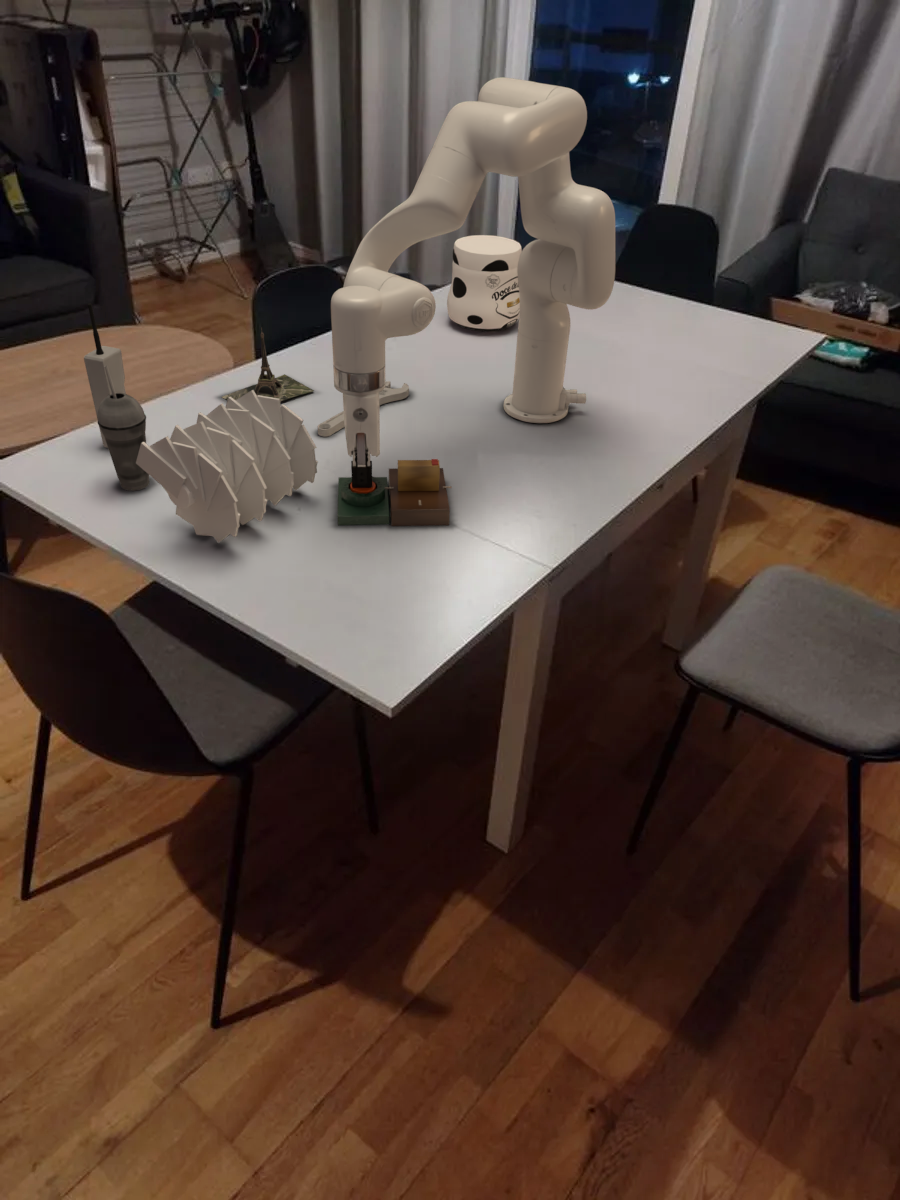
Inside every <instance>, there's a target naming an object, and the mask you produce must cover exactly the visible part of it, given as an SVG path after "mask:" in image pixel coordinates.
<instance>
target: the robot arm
mask: <svg viewBox="0 0 900 1200" xmlns="http://www.w3.org/2000/svg"><path fill="white" fill-rule="evenodd" d="M477 96H478V98H477V100H467V101H461V102H459V103H457V104H455V105H454V106H452V108H450V110H449V111H448V113H447V115H446V117H445V119H444V120H443V122H442V125H441V127H440V129H439V131H438V134H437V136H436V138H435V141H434V142H433V145H432V148H431V150H430V152H429V154H428V156H427V158H426V161H425V162H424V164H423V166H422V169H421V172H420V174H419V176H418V178H417V181H416V183H415V185H414V188H413V190H412V192H411V193H410V195H408V198H406V199H405V200H404V201H402V203H400V204H399V205H397V206H396V207H394V208H393V209H391V210H390V211H389V212H387V213H386V214H385V215H384V216H383V217H381V219H380V220H379V221H378V222H376V223H375V224H374V225H373V226H372V227H371V228H370V229H369V230H368V232H367V233H366V234H365V235H364V236H363V238H362V240H361V241H360V243H359V245H358V247H357V249H356V251H355V254H354V256H353V257H352V260H351V263H350V265H349V267H348V270H347V273H346V275H345V279H344V281H343V287H341V288H338V289H337V290H336V291H334V292H333V294H332V296H331V300H330V319H331V320H330V321H331V343H332V365H333V387H334V389H335V390H336V391H338V392H339V393H342V407H343V408H342V409H343V411H344V425H345V427H344V433H345V442H346V450H347V455H348V456H349V457H350V458H352V460H350V465H351V466H350V467H351V470H350V471H351V477H352V487H353V488H371V487H372V476H373V461H372V460H371V457H375V458H377V457H379V456H380V454H381V448H380V447H381V432H380V431H381V429H380V428H381V424H380V423H381V422H380V421H381V419H380V418H381V416H380V415H381V414H380V410H381V409H380V406H379V392H381V391H382V390H383V389H384V388H385V382H386V341H387V340H388V339H392V338H400V337H408V336H412V335H416V334H418V333H421V332H422V331H424V330H425V329H426V328H427V327H429V325H430V324H431V322H432V321H433V320H434V317H435V315H436V314H435V313H436V307H437V306H436V304H437V303H436V300H435V296H434V294H433V293H432V291H431V290H430V289H429V288H428V287H427V286H425V285H424V284H423V283H421V282H419V281H416V280H412V279H409V278H406V277H403V276H401V275H398V274H394V273H391V272H389V270H390V269H391V267H392V265H393V263H395V261H396V259H397V258H398V257H399V256H400V255H401V254H402V253H404V252H405V251H406V250H407V249H408V248H410V247H412V246H413V245H416V244H417V243H420V242H423V241H426V240H430V239H432V238H435V237H439V236H442V235H446V234H449V233H453V232H456V231H457V230H459V229H461V228H462V226H463V225H464V224H465V222H466V219H467V218H468V215H469V213H470V211H471V209H472V206H473V204H474V201H476V200H475V199H476V198H477V196H478V193H479V191H480V189H481V188H482V187H481V186H482V185H483V182H484V180H485V179H486V176H487V174H488V173H494V174H498V175H504V176H508V177H513V178H517V180H518V193H519V204H520V216H521V222H522V226H523V229H524V230H525V232H526V233H527V234H528V235H529V236H530V237H533V238H535V239H534V240H532V241H530V242H529V243H527V244H526V245H525V246H524V247H523V249H522V252H521V254H520V257H519V261H518V268H517V274H518V285H519V295H520V311H519V318H518V327H517V336H516V337H517V338H516V349H515V350H516V351H515V360H514V370H513V382H512V393H511V394H509V395H507V396H506V397H505V398H504V400H503V406H502V407H503V410H504V411H505V413H506V414H507V415H508V416H510V417H511V418H513V419H516V420H517V421H522V422H526V423H532V424H548V423H554V422H557V421H560V420H563V419H564V418H565V417H566V416H567V415H568V412H569V406H570V404H579V405H581V404H583V405H584V404H586V403H587V394H586V392H585V393H578V389H566V388H565V387H564V382H565V381H564V380H565V374H566V373H565V372H566V364H567V358H568V350H569V349H568V348H569V339H570V333H571V315H570V311H569V307H568V305H569V306H572V307H576V308H579V309H584V310H590V311H591V310H597V309H599V308H601V307H603V306H604V305H606V303H607V302H608V301H609V299H610V297H611V295H612V293H613V289H614V285H615V278H616V212H615V211H616V210H615V207H614V204H613V201H612V199H611V198H610V197H609V195H608V194H607V193H606V192H604V191H602V190H601V189H598V188H596V187H592V186H589V185H588V186H587V185H583V184H578V183H576V182H575V181H574V180H573V177H572V171H571V161H570V160H571V159H570V152H571V151H572V150H573V149H574V148H575V147H576V146H578V143H579V142H580V141H581V139H582V137H583V136H584V132H585V130H586V127H587V120H588V110H587V106H586V101H585V99H584V98H583V96H582V95H581V94H580V93H579V92H578V91H577V90H575V89H572V88H570V87H567V86H566V87H565V86H562V85H555V84H549V83H542V82H536V81H532V80H526V79H519V78H513V77H505V76H504V77H503V76H501V77H495V78H492V79H490V80H488V81H487V82H485V83H484V84H483V85H482V86H481V88H480V89H479V93H478V95H477Z"/></svg>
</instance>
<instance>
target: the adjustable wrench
mask: <svg viewBox="0 0 900 1200" xmlns="http://www.w3.org/2000/svg"><path fill="white" fill-rule="evenodd" d="M391 385H392V383H391V381H389V380H387V381H385V388H384V389H383V390H382V391H381V392H379V407H381V406H382V405H385V404H387V403H391V402H397V401H401V400H404V399H407V398H408V397H409V395H410V386H409V385H408V383H406V382H404V383H403V384H402V386H401V387H398V388H391ZM343 428H345V425H344V410H342V411H340V412H339V413H337V414H335V415H333V416H332V417H329V418H328V419H326V420H324V421H323V422H320V423H319V424H318V425H317V435H319V436H320V437H324V438H325V437H330V436H332V435H333V434H336V433H337V432H338V431H340V430H341V429H343Z"/></svg>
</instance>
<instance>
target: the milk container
mask: <svg viewBox="0 0 900 1200" xmlns="http://www.w3.org/2000/svg"><path fill="white" fill-rule="evenodd" d="M452 248H453V249H452V262H451V282H450V286H449V291H448V294H447V297H446V298H447V299H446V308H447V314H448V317H449V319H450V321H452V323H454V324H455V325H457V326H458V327H461V328H464V329H467V330H471V331H475V332H498V331H502V330H507V329H509V328H510V327H512V326H514V325H515V324H516V323H517V322H518V321H519V311H520V295H519V285H518V274H517V268H518V261H519V257H520V254H521V252H522V250H523V249H522V245H521V243H520V242H519V241H517V240H515V239H512V238H508V237H505V236H499V235H489V234H488V235H487V234H477V235H476V234H475V235H474V234H473V235H468V236H467V235H466V236H463V237H460V238H457V239H456V240H455V242H454V243H453V247H452Z"/></svg>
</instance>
